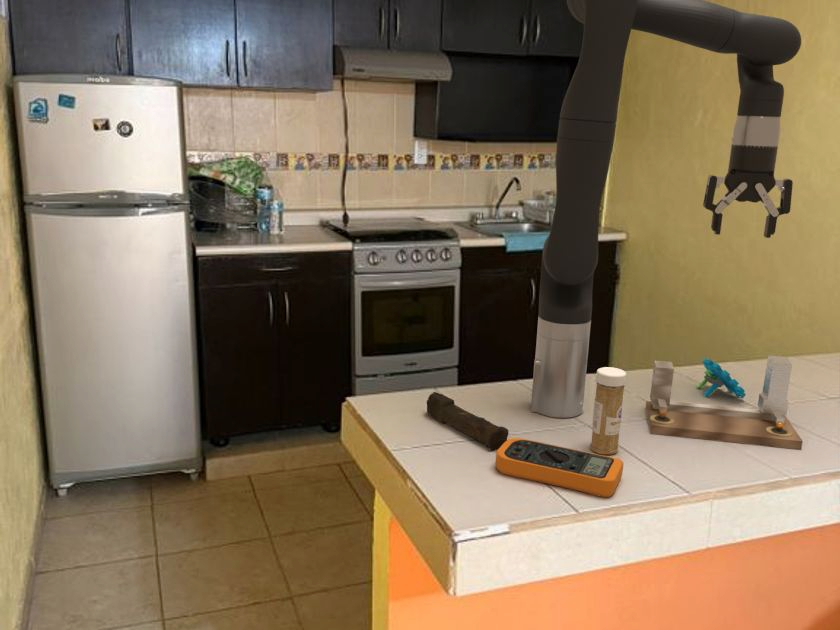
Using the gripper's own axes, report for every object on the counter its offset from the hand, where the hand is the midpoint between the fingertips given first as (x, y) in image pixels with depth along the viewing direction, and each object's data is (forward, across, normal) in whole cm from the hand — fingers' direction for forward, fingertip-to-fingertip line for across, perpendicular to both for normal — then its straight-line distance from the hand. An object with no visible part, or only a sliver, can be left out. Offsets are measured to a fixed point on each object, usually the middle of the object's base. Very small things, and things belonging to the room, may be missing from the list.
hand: (741, 235), depth 140 cm
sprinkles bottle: (+32, -22, -28) cm, 48 cm away
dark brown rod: (+33, -46, -27) cm, 62 cm away
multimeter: (+33, -29, -39) cm, 59 cm away
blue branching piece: (+32, +1, +5) cm, 33 cm away
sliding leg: (+30, +7, -12) cm, 33 cm away
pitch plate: (+32, -2, -13) cm, 35 cm away
